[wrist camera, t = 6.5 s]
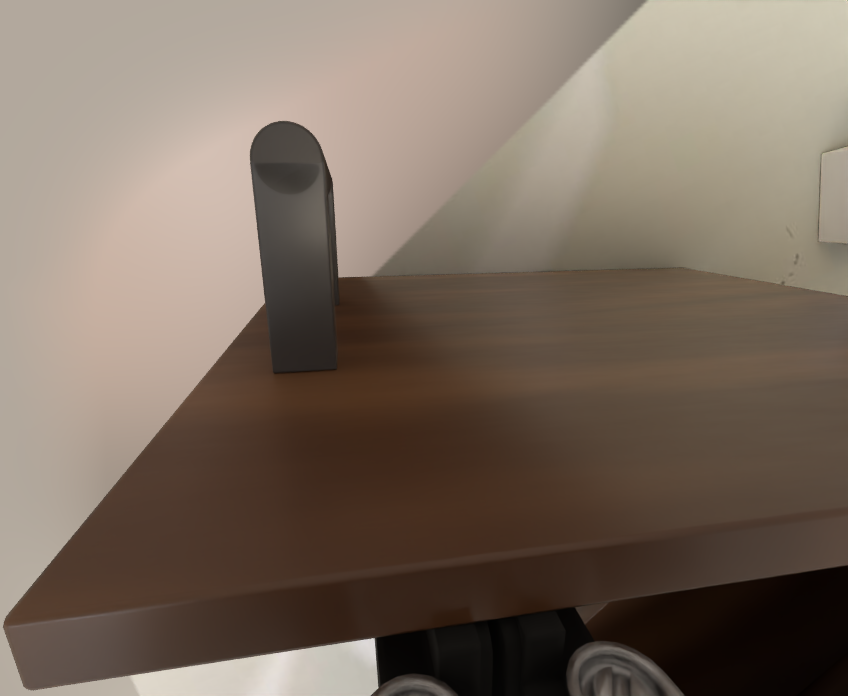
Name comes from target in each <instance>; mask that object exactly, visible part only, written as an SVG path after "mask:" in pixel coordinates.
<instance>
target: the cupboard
mask: <svg viewBox="0 0 848 696" xmlns="http://www.w3.org/2000/svg"><path fill="white" fill-rule="evenodd" d="M575 608H576V610H577V612H578V613H579V615H580V617H581V618H582V620H583V622H584V624H585V625H586V627H587V629H588V630H589V632H590V634H591V636H592V637H593V639H594V641H595V642H596V641H610V642H618V643H621V644H623V645H626V646H629V647H631V648H634V649H636V650H637V651H639V652H641V653H642V654H644V655H645V656H647V657H649V658H650V659H651V660H652V661H653V662H654V663H656V664H657V665H658V666H659V667H660V668H661V669H662V670H663V671H664V672H665V673H666V674H667V675H668V677H669V678H670V679H671V680H672V681H673V682H674V684H675V685H676V686H677V687H678V688H679V689H680V691H681V692H682V693H683V694H684V695H685V696H848V565H847V566H841V567H834V568H828V569H821V570H815V571H808V572H802V573H795V574H788V575H782V576H775V577H769V578H762V579H756V580H749V581H743V582H736V583H730V584H723V585H717V586H710V587H704V588H697V589H691V590H684V591H678V592H671V593H664V594H658V595H651V596H645V597H638V598H632V599H625V600H619V601H612V602H606V603H599V604H593V605H586V606H580V607H575Z"/></svg>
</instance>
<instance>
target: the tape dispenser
mask: <svg viewBox="0 0 848 696" xmlns="http://www.w3.org/2000/svg"><path fill="white" fill-rule="evenodd" d="M818 241H820V242H835V243H848V147H844V148H840V149H837V150H833V151H829V152H826V153H822V158H821V184H820V211H819V238H818Z"/></svg>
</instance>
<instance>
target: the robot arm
mask: <svg viewBox="0 0 848 696" xmlns="http://www.w3.org/2000/svg"><path fill="white" fill-rule="evenodd" d="M375 648H376V661H377V674H378V687H379V688H378V689H377V690H376V691H375V692H374V693H373V694H372V695H371V696H685V695H684V694H683V693H682V692H681V691H680V689H679V688H678V687H677V686H676V685H675V684H674V682H673V681H672V680H671V679H670V678H669V677H668V675H667V674H666V673H665V672H664V671H663V670H662V669H661V668H660V667H659V666H658V665H657V664H656V663H654V662H653V661H652V660H651V659H650V658H649V657H647V656H645V655H644V654H642V653H641V652H639V651H637V650H636V649H634V648H631V647H629V646H626V645H623V644H621V643H618V642H610V641H596V642H595V641H594V639H593V637H592V636H591V634H590V632H589V630H588V629H587V627H586V625H585V624H584V622H583V620H582V618H581V617H580V615H579V613H578V612H577V610H576V608H575V607H573V608H567V609H560V610H554V611H547V612H540V613H534V614H527V615H521V616H514V617H508V618H501V619H495V620H488V621H482V622H475V623H469V624H462V625H456V626H449V627H443V628H436V629H430V630H423V631H416V632H410V633H403V634H397V635H390V636H384V637H377V638H375Z"/></svg>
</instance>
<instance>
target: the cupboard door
mask: <svg viewBox="0 0 848 696" xmlns="http://www.w3.org/2000/svg"><path fill="white" fill-rule="evenodd" d="M250 164H251V174H252V183H253V192H254V202H255V210H256V220H257V230H258V239H259V249H260V258H261V266H262V277H263V286H264V295H265V304H264V305H263V306H262V307H261V308H260V310H259V311H258V312H257V313H256V314H255V316H254V317H253V318H252V319H251V320H250V322H249V323H248V324H247V325H246V327H245V328H244V329H243V330H242V332H241V333H240V334H239V335H238V336H237V338H236V339H235V340H234V341H233V343H232V344H231V345H230V346H229V347H228V348H227V350H226V351H225V352H224V353H223V354H222V356H221V357H220V358H219V359H218V361H217V362H216V363H215V364H214V365H213V367H212V368H211V369H210V370H209V371H208V373H207V374H206V375H205V376H204V378H203V379H202V380H201V381H200V382H199V383H198V385H197V386H196V387H195V388H194V390H193V391H192V392H191V393H190V394H189V396H188V397H187V398H186V399H185V401H184V402H183V403H182V404H181V405H180V407H179V408H178V409H177V410H176V411H175V413H174V414H173V415H172V416H171V417H170V419H169V420H168V421H167V422H166V423H165V425H164V426H163V427H162V428H161V430H160V431H159V432H158V433H157V434H156V436H155V437H154V438H153V439H152V440H151V442H150V443H149V444H148V445H147V447H146V448H145V449H144V450H143V451H142V453H141V454H140V455H139V456H138V457H137V459H136V460H135V461H134V462H133V464H132V465H131V466H130V467H129V468H128V469H127V471H126V472H125V473H124V474H123V476H122V477H121V478H120V479H119V480H118V482H117V483H116V484H115V485H114V486H113V488H112V489H111V490H110V491H109V492H108V494H107V495H106V496H105V497H104V499H103V500H102V501H101V502H100V503H99V505H98V506H97V507H96V508H95V510H94V511H93V512H92V513H91V514H90V515H89V517H88V518H87V519H86V520H85V522H84V523H83V524H82V525H81V526H80V528H79V529H78V530H77V531H76V532H75V534H74V535H73V536H72V537H71V539H70V540H69V541H68V542H67V543H66V545H65V546H64V547H63V548H62V550H61V551H60V552H59V553H58V554H57V556H56V557H55V558H54V559H53V560H52V562H51V563H50V564H49V565H48V567H47V568H46V569H45V570H44V571H43V573H42V574H41V575H40V576H39V577H38V578H37V580H36V581H35V582H34V583H33V585H32V586H31V587H30V588H29V589H28V591H27V592H26V593H25V594H24V596H23V597H22V598H21V599H20V600H19V601H18V603H17V604H16V605H15V606H14V608H13V609H12V610H11V611H10V612H9V614H8V615H7V616H6V618H5V621H4V625H3V628H4V630H5V634H6V637H7V639H8V642H9V645H10V648H11V651H12V654H13V657H14V660H15V663H16V666H17V669H18V671H19V674H20V677H21V680H22V683H23V686H24V687H25V688H26V689H28V690H38V689H44V688H51V687H57V686H63V685H71V684H76V683H83V682H90V681H97V680H103V679H109V678H116V677H123V676H129V675H136V674H142V673H149V672H155V671H162V670H168V669H175V668H182V667H188V666H195V665H201V664H208V663H214V662H221V661H227V660H234V659H240V658H247V657H253V656H260V655H266V654H273V653H279V652H286V651H292V650H299V649H306V648H312V647H319V646H325V645H332V644H338V643H345V642H351V641H358V640H364V639H371V638H377V637H384V636H390V635H397V634H403V633H410V632H416V631H423V630H430V629H436V628H443V627H449V626H456V625H462V624H469V623H475V622H482V621H488V620H495V619H501V618H508V617H514V616H521V615H527V614H534V613H540V612H547V611H554V610H560V609H567V608H573V607H580V606H586V605H593V604H599V603H606V602H612V601H619V600H625V599H632V598H638V597H645V596H651V595H658V594H664V593H671V592H678V591H684V590H691V589H697V588H704V587H710V586H717V585H723V584H730V583H736V582H743V581H749V580H756V579H762V578H769V577H775V576H782V575H788V574H795V573H802V572H808V571H815V570H821V569H828V568H834V567H841V566H847V565H848V296H844V295H838V294H832V293H826V292H820V291H814V290H809V289H803V288H797V287H791V286H785V285H780V284H774V283H768V282H762V281H756V280H751V279H745V278H739V277H733V276H727V275H721V274H716V273H710V272H704V271H698V270H692V269H687V268H653V269H619V270H584V271H549V272H515V273H480V274H446V275H411V276H376V277H345V278H344V277H343V278H338V266H337V265H338V264H337V248H336V230H335V214H334V197H333V182H332V178H331V175H330V172H329V169H328V166H327V163H326V160H325V157H324V155H323V152H322V149H321V146H320V144H319V142H318V141H317V139H316V138H315V137H314V136H313V134H312V133H311V132H310V131H309V130H307V129H306V128H304V127H303V126H301V125H299V124H296V123H294V122H289V121H278V122H274V123H271V124H269V125H267V126H265V127H264V128H262V129H261V130H260V131H259V132H258V134H257V135H256V136H255V138H254V140H253V142H252V145H251V149H250Z"/></svg>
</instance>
